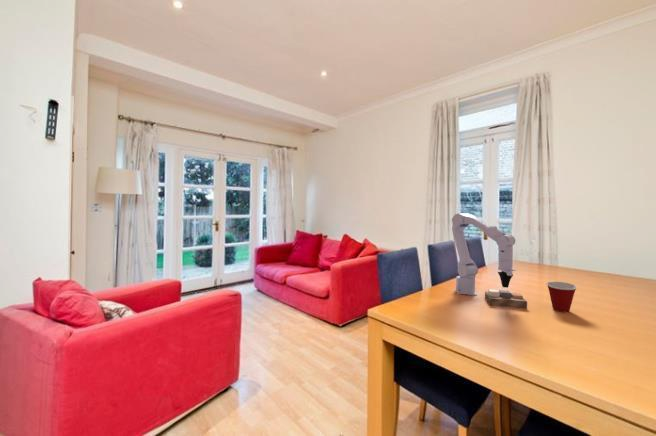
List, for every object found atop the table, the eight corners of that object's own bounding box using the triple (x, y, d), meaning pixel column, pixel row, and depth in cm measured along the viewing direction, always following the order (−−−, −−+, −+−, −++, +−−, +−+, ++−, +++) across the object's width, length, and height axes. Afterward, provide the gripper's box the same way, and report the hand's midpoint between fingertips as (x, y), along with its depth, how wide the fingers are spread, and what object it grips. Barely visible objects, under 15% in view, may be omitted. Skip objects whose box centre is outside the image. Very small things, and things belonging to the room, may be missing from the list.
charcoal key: (501, 298, 133) (501, 292, 133) (499, 296, 137) (499, 290, 137) (510, 299, 132) (511, 293, 131) (508, 297, 135) (508, 290, 135)
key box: (490, 305, 131) (490, 298, 131) (485, 298, 142) (485, 291, 142) (527, 309, 127) (527, 301, 126) (518, 301, 137) (519, 294, 137)
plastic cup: (541, 308, 127) (541, 283, 126) (551, 304, 132) (551, 280, 132) (571, 316, 117) (571, 289, 117) (580, 311, 123) (581, 285, 123)
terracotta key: (512, 301, 131) (512, 295, 131) (510, 299, 135) (510, 292, 135) (522, 302, 130) (522, 296, 130) (519, 300, 134) (519, 293, 134)
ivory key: (490, 297, 134) (490, 291, 134) (488, 295, 138) (488, 289, 138) (499, 298, 133) (499, 292, 133) (497, 296, 137) (497, 289, 137)
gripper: (520, 262, 125) (519, 292, 126) (510, 257, 139) (510, 283, 139) (502, 261, 128) (502, 290, 128) (494, 256, 141) (494, 282, 142)
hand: (505, 287), depth 134 cm, fingers closed
